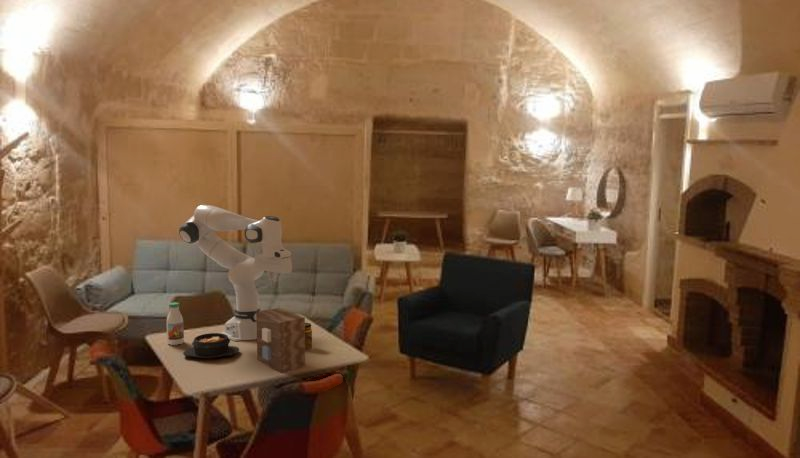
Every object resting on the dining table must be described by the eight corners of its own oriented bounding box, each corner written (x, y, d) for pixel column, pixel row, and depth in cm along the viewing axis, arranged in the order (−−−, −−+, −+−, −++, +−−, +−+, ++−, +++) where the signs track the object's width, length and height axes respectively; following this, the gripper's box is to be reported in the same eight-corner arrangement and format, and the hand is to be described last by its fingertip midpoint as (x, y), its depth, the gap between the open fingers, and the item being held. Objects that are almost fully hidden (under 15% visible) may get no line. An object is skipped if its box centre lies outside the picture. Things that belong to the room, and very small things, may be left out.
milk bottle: (163, 344, 303) (162, 304, 301) (175, 340, 310) (173, 300, 308) (176, 346, 300) (174, 305, 298) (187, 341, 307) (186, 302, 305)
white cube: (267, 342, 271) (267, 331, 270) (262, 339, 275) (261, 328, 274) (277, 340, 274) (277, 329, 273) (272, 337, 278) (272, 326, 277)
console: (280, 372, 267) (280, 322, 264) (257, 358, 284) (256, 311, 281) (305, 366, 275) (304, 317, 272) (280, 353, 291) (280, 307, 289)
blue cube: (267, 360, 272) (267, 349, 271) (262, 357, 276) (262, 346, 275) (278, 357, 275) (277, 346, 275) (272, 354, 279) (272, 344, 278)
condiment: (315, 349, 299) (315, 324, 297) (298, 352, 294) (298, 327, 292) (308, 345, 305) (308, 321, 303) (292, 348, 300) (292, 323, 298)
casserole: (178, 362, 279) (177, 344, 277) (189, 349, 297) (188, 332, 296) (235, 361, 280) (234, 343, 279) (242, 348, 299) (242, 331, 298)
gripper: (250, 250, 289) (251, 279, 291) (284, 254, 279) (285, 285, 281) (260, 248, 295) (260, 277, 297) (293, 252, 284) (294, 282, 286)
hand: (273, 281), depth 289 cm, fingers closed
